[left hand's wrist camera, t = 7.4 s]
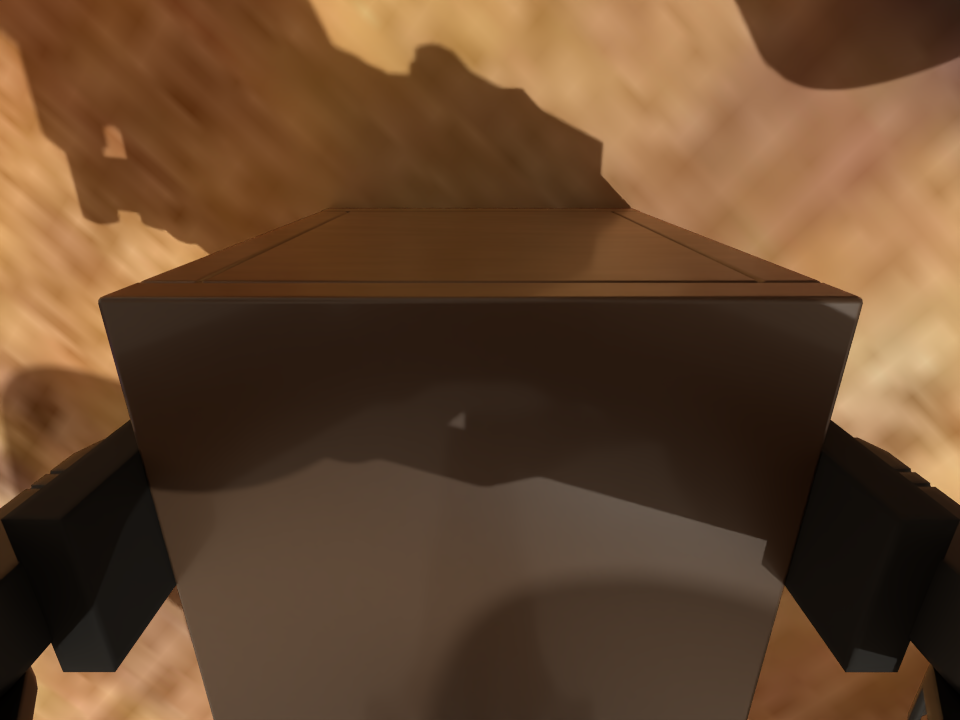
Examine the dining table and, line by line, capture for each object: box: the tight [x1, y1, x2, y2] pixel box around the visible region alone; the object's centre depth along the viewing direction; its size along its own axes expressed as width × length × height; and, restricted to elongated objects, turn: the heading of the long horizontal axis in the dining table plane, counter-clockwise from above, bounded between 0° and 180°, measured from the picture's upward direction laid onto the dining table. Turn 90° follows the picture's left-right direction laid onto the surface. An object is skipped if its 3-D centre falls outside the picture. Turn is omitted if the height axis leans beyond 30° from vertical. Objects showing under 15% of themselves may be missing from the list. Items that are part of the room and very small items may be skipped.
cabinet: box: [98, 208, 863, 720], centre depth 17 cm, size 22×11×12 cm, turn 0°
